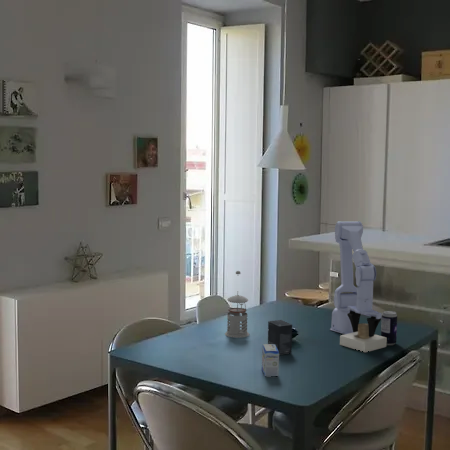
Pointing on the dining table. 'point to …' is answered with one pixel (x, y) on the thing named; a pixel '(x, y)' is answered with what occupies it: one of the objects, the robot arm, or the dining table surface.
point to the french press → (237, 317)
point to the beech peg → (363, 331)
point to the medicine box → (270, 360)
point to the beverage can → (389, 327)
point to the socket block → (363, 342)
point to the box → (280, 336)
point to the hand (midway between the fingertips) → (363, 334)
